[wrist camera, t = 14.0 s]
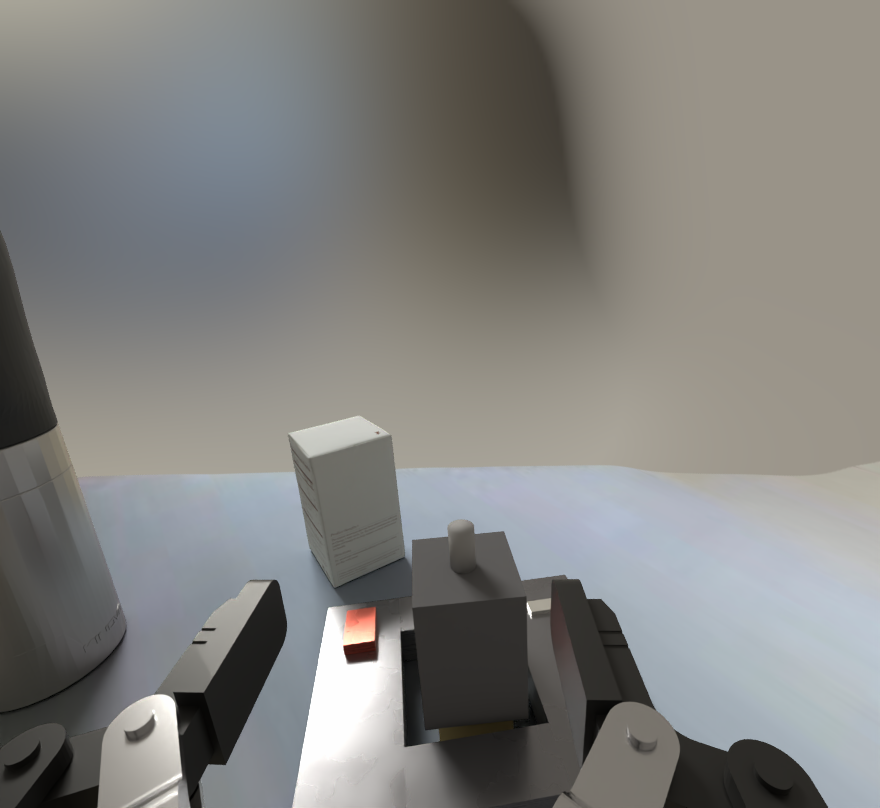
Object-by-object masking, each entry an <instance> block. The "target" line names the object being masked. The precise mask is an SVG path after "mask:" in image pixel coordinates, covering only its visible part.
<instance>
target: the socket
mask: <svg viewBox="0 0 880 808" xmlns="http://www.w3.org/2000/svg"><path fill="white" fill-rule="evenodd" d="M553 579H567V577H566V576H565V575H560V576H553V577H546V578H538V579H531V580H524V581H521V582H522V585H523V587H524V590H525V593H526V596H527V652H528V697H529V700H530V703H531V706H532V709H533V712H534V716H535V719H536V722H537V725H534V726H528V727H522V728H516V729H510V730H504V731H498V732H492V733H487V734H481V735H475V736H469V737H463V738H457V739H451V740H445V741H439V742H433V743H428V744H422V745H416V746H410V747H407V726H406V701H405V677H404V661H410V660H417V659H418V658H417V649H416V640H415V630H414V621H413V612H412V596H409V597H402V598H395V599H387V600H380V601H373V602H366V603H359V604H351V605H344V606H337V607H330V608H328V612H327V618H326V623H325V629H324V635H323V640H322V646H321V651H320V657H319V662H318V668H317V673H316V679H315V685H314V690H313V696H312V701H311V707H310V712H309V718H308V724H307V729H306V735H305V740H304V746H303V751H302V757H301V762H300V768H299V774H298V779H297V785H296V790H295V796H294V801H293V807H292V808H553V806H554V804H555V802H556V801H557V799H558V797H559V796H560V795H561V793H562V792H564V791H566V792H567V793H568V792H569V791H570V790H571V788H572V787H573V785H574V783H575V781H576V779H577V777H578V775H579V772H580V767H579V763H578V758H577V754H576V749H575V745H574V740H573V736H572V731H571V727H570V722H569V718H568V713H567V709H566V704H565V699H564V695H563V690H562V686H561V681H560V677H559V672H558V668H557V663H556V659H555V654H554V650H553V645H552V638H551V627H550V617H551V584H552V580H553Z"/></svg>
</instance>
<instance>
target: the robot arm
mask: <svg viewBox="0 0 880 808" xmlns="http://www.w3.org/2000/svg"><path fill="white" fill-rule="evenodd" d="M550 627H551V638H552V645H553V650H554V654H555V659H556V663H557V668H558V672H559V677H560V681H561V686H562V690H563V695H564V699H565V704H566V709H567V713H568V718H569V722H570V727H571V731H572V736H573V740H574V745H575V749H576V754H577V758H578V763H579V767H580V772H579V775H578V777H577V779H576V781H575V783H574V785H573V787H572V788H571V790H570V791H569V792H568V793H567V792H566V791H564V792H562V793H561V795H560V796H559V797H558V799H557V801H556V802H555V804H554V806H553V808H828V806H827V805H826V803H825V802H824V800H823V798H822V797H821V795H820V793H819V792H818V790H817V788H816V787H815V785H814V783H813V782H812V780H811V779H810V777H809V776H808V774H807V773H806V772H805V771H804V770H803V768H802V767H801V766H800V765H799V764H798V763H797V762H796V761H794V760H793V759H792V758H791V757H790V756H788V755H787V754H786V753H784V752H783V751H781V750H779V749H778V748H776V747H774V746H772V745H770V744H767V743H765V742H761V741H758V740H752V739H744V740H739V741H737V742H735V743H734V744H733V745H732V746H731V747H730V749H729V751H728V752H727V751H724V750H721V749H718V748H715V747H712V746H709V745H706V744H703V743H700V742H697V741H694V740H692V739H689V738H687V737H685V736H684V735H682V734H680V733H679V732H677V731H676V730H674V729H673V727H672V726H671V725H670V723H669V722H668V721H667V720H666V719H665V718H664V717H663V716H662V715H661V714H660V713H658V712H657V711H656V709H655V708H654V706H653V704H652V702H651V699H650V697H649V694H648V692H647V690H646V687H645V685H644V682H643V680H642V678H641V675H640V673H639V670H638V668H637V666H636V663H635V661H634V658H633V656H632V654H631V651H630V649H629V648H628V644H627V641H626V639H625V637H624V634H622V629H621V627H620V625H619V622H618V620H617V617H616V615H615V613H614V612H613V611H612V610H611V609H610V608H609V607H608V606H607V605H606V604H605V603H604V602H603V601H602V600H601V599H587V598H586V595H585V593H584V590H583V587H582V584H581V582H580V580H579V579H553V580H552V584H551V617H550ZM125 629H126V619H125V616H124V613H123V610H122V607H121V604H120V601H119V598H118V595H117V592H116V589H115V587H114V584H113V580H112V577H111V574H110V571H109V569H108V566H107V563H106V560H105V557H104V554H103V551H102V548H101V545H100V543H99V540H98V537H97V534H96V531H95V528H94V525H93V522H92V519H91V517H90V514H89V511H88V508H87V505H86V502H85V499H84V496H83V493H82V491H81V488H80V485H79V482H78V479H77V476H76V473H75V470H74V467H73V465H72V462H71V459H70V456H69V454H68V451H67V448H66V445H65V442H64V439H63V436H62V433H61V430H60V427H59V424H58V422H57V418H56V415H55V413H54V410H53V407H52V404H51V400H50V397H49V393H48V389H47V386H46V382H45V378H44V375H43V372H42V369H41V365H40V362H39V359H38V356H37V353H36V350H35V347H34V344H33V341H32V337H31V333H30V330H29V327H28V323H27V319H26V316H25V312H24V308H23V304H22V301H21V297H20V293H19V289H18V285H17V281H16V277H15V273H14V269H13V266H12V263H11V260H10V256H9V253H8V250H7V246H6V243H5V241H4V238H3V236H2V233H1V231H0V712H6V711H11V710H14V709H18V708H21V707H25V706H28V705H30V704H33V703H35V702H38V701H40V700H43V699H45V698H47V697H49V696H51V695H53V694H55V693H57V692H59V691H61V690H63V689H65V688H66V687H68V686H70V685H71V684H73V683H74V682H76V681H78V680H79V679H81V678H82V677H83V676H85V675H86V674H87V673H89V672H90V671H91V670H93V669H94V668H95V667H97V666H98V665H99V664H100V663H101V662H102V661H103V660H104V659H105V658H106V657H108V656H109V654H110V653H111V652H112V651H113V650H114V649H115V647H116V646H117V645H118V644H119V642H120V640H121V639H122V637H123V635H124V632H125ZM286 631H287V619H286V614H285V610H284V605H283V600H282V595H281V590H280V586H279V583H278V581H277V580H250V581H248V582H247V584H246V585H245V586H244V588H243V589H242V591H241V592H240V594H239V595H238V597H237V598H236V599H229V600H228V601H226V602H225V603H224V604H223V605H221V606H220V607H219V608H218V609H217V610H215V611H214V612H213V613H212V615H211V616H210V617H209V619H208V620H207V622H206V623H205V624H204V626H203V627H202V631H199V633H198V634H197V636H196V637H195V638H194V640H193V643H192V644H190V645H189V647H188V648H187V650H186V651H185V652H184V654H183V655H182V656H181V658H180V659H179V661H178V662H177V663H176V665H175V666H174V668H173V669H172V670H171V672H170V673H169V675H168V676H167V677H166V679H165V680H164V682H163V683H162V684H161V686H160V687H159V689H158V690H157V691H156V693H155V694H154V695H152V696H149V697H146V698H143V699H141V700H139V701H137V702H135V703H133V704H132V705H130V706H129V707H127V708H126V709H125V710H124V711H122V712H121V713H120V714H119V715H118V716H117V717H116V718H115V719H114V720H113V721H112V723H111V724H110V725H109V726H108V727H105V728H102V729H98V730H95V731H91V732H88V733H84V734H81V735H77V736H74V737H70V738H69V737H68V735H67V733H66V730H65V728H64V727H63V726H62V725H61V724H57V723H47V724H43V725H39V726H36V727H34V728H31V729H29V730H27V731H25V732H23V733H22V734H20V735H18V736H17V737H15V738H14V739H12V740H11V741H9V742H8V743H7V744H6V745H4V746H3V747H2V748H1V749H0V808H205V803H204V795H203V787H202V783H201V780H200V779H201V777H202V775H203V773H204V771H205V769H206V767H207V765H208V764H215V765H226V763H227V761H228V759H229V757H230V755H231V753H232V751H233V748H234V746H235V744H236V742H237V740H238V738H239V736H240V734H241V732H242V730H243V727H244V725H245V723H246V721H247V719H248V717H249V715H250V713H251V711H252V709H253V707H254V704H255V702H256V700H257V698H258V696H259V694H260V692H261V690H262V688H263V686H264V683H265V681H266V679H267V677H268V675H269V673H270V671H271V669H272V667H273V665H274V662H275V660H276V658H277V656H278V654H279V652H280V650H281V648H282V646H283V643H284V640H285V637H286Z"/></svg>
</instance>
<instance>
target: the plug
mask: <svg viewBox="0 0 880 808" xmlns="http://www.w3.org/2000/svg"><path fill="white" fill-rule="evenodd" d="M412 612H413V621H414V630H415V640H416V649H417V658H418V667H419V676H420V686H421V695H422V704H423V713H424V722H425V730H431V729H439V735H440V741H445V740H451V739H457V738H463V737H469V736H475V735H481V734H487V733H492V732H498V731H504V730H510V729H514V727H513V720H521V719H529V714H528V652H527V596H526V593H525V590H524V587H523V585H522V582H521V579H520V576H519V573H518V570H517V567H516V565H515V562H514V559H513V556H512V553H511V550H510V548H509V545H508V542H507V539H506V536H505V533H504V531H503V532H492V533H482V534H474V525H473V523H472V522H470V521H468V520H455V521H453V522H451V523H450V524H449V525H448V537H440V538H430V539H419V540H412Z"/></svg>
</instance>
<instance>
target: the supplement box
mask: <svg viewBox="0 0 880 808" xmlns="http://www.w3.org/2000/svg"><path fill="white" fill-rule="evenodd" d="M288 437H289V442H290V447H291V452H292V457H293V462H294V468H295V473H296V478H297V483H298V488H299V493H300V498H301V504H302V509H303V515H304V520H305V526H306V532H307V537H308V542H309V547H310V549H311V551H312V552H313V554H314V556H315V557H316V559H317V561H318V562H319V564H320V566H321V567H322V569H323V570H324V572H325V574H326V575H327V577H328V579H329V580H330V582H331V584H332V585H333V587H334V588H336V587H338V586H340V585H342V584H344V583H347V582H349V581H351V580H353V579H356V578H358V577H360V576H362V575H365V574H367V573H369V572H371V571H374V570H376V569H378V568H380V567H383V566H385V565H387V564H389V563H392V562H394V561H396V560H398V559H401V558H403V557H405V549H404V540H403V532H402V523H401V515H400V506H399V497H398V489H397V480H396V471H395V464H394V454H393V446H392V437H391V435H390V434H388V433H387V432H386V431H384V430H383V429H381V428H379V427H378V426H376V425H374V424H373V423H371V422H369V421H368V420H366V419H364V418H362V417H361V416H356V417H352V418H348V419H344V420H340V421H336V422H332V423H328V424H324V425H320V426H316V427H312V428H308V429H304V430H300V431H296V432H292V433H288Z"/></svg>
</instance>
